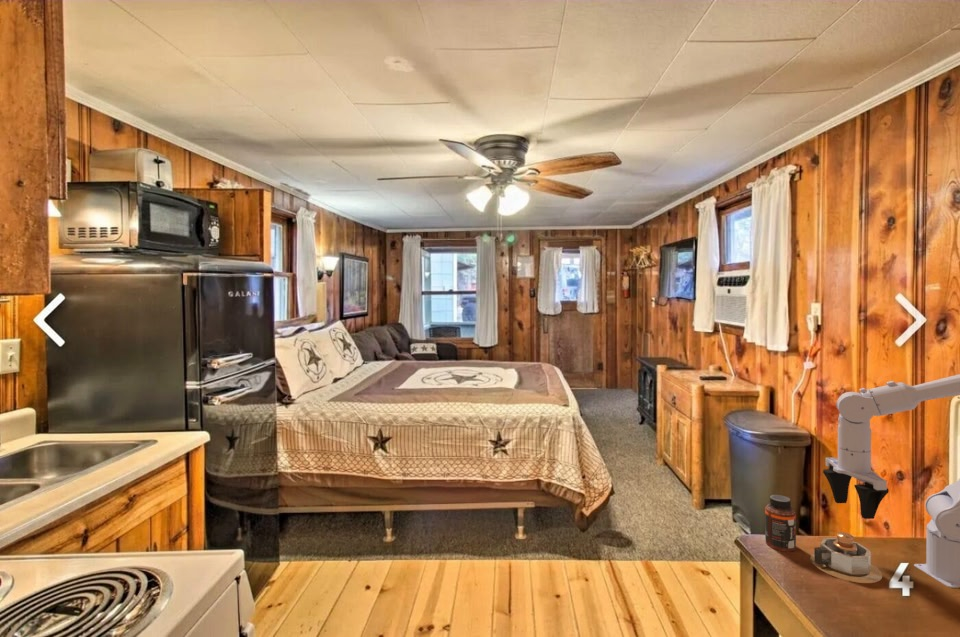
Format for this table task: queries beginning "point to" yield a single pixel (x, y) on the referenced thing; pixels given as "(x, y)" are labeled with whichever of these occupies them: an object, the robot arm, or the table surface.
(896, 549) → the table surface
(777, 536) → the supplement bottle
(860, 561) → the grey octagonal base
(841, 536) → the copper knob
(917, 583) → the table surface
